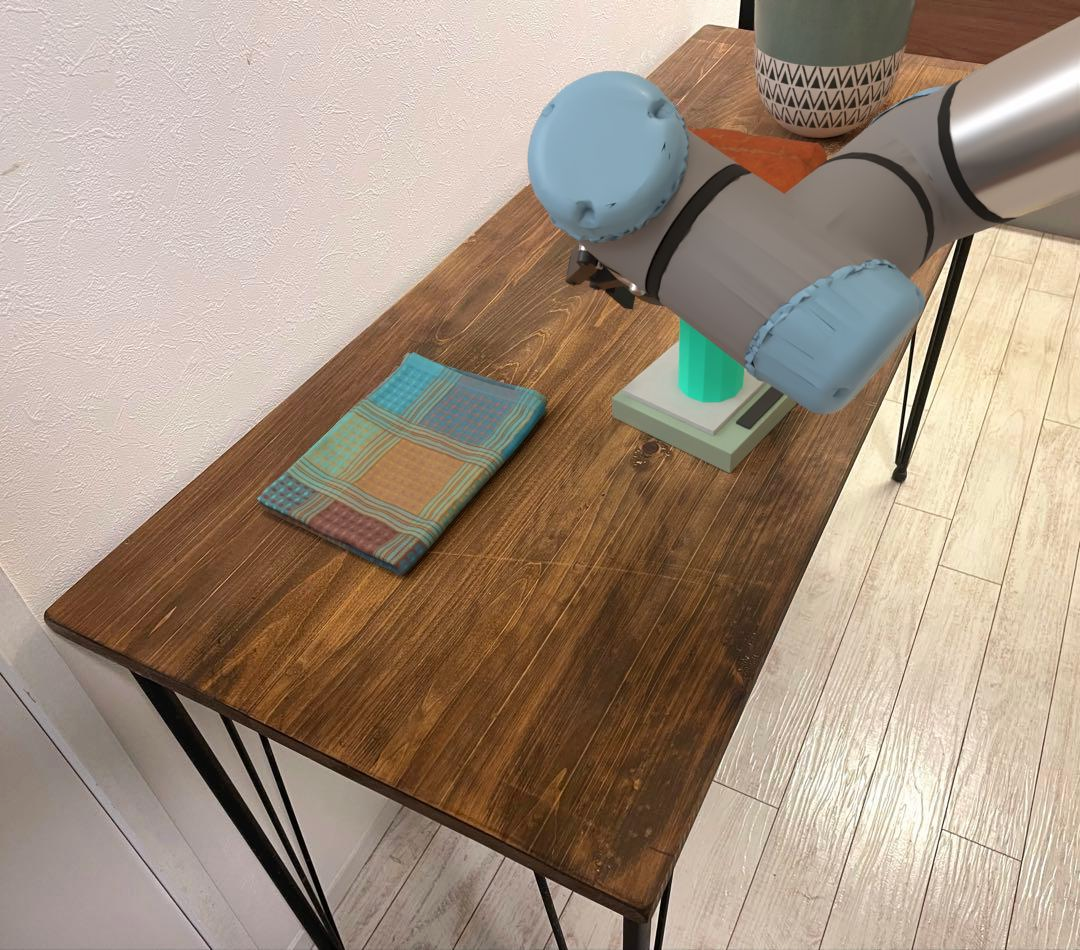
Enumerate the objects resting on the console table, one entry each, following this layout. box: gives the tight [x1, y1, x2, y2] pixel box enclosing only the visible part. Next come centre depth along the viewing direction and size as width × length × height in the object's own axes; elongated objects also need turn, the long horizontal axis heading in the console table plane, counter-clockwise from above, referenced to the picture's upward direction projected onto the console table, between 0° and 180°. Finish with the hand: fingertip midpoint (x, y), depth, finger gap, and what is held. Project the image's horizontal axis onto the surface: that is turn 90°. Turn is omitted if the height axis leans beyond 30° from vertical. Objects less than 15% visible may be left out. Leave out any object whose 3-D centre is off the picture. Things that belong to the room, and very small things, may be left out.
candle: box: [678, 317, 744, 402], centre depth 80 cm, size 6×6×12 cm
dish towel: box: [257, 352, 549, 577], centre depth 84 cm, size 17×23×2 cm
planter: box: [753, 0, 918, 139], centre depth 118 cm, size 20×20×21 cm
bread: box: [686, 126, 828, 194], centre depth 106 cm, size 16×27×11 cm, turn 64°
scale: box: [611, 339, 798, 474], centre depth 86 cm, size 13×13×3 cm
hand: (710, 304), depth 76 cm, fingers open, 13 cm apart
